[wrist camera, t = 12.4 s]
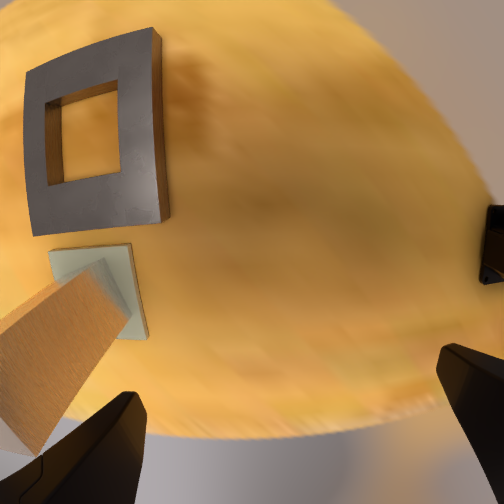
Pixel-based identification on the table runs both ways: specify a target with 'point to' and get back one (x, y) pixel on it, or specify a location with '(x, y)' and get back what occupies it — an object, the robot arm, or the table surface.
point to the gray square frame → (129, 127)
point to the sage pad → (122, 272)
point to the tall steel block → (54, 352)
